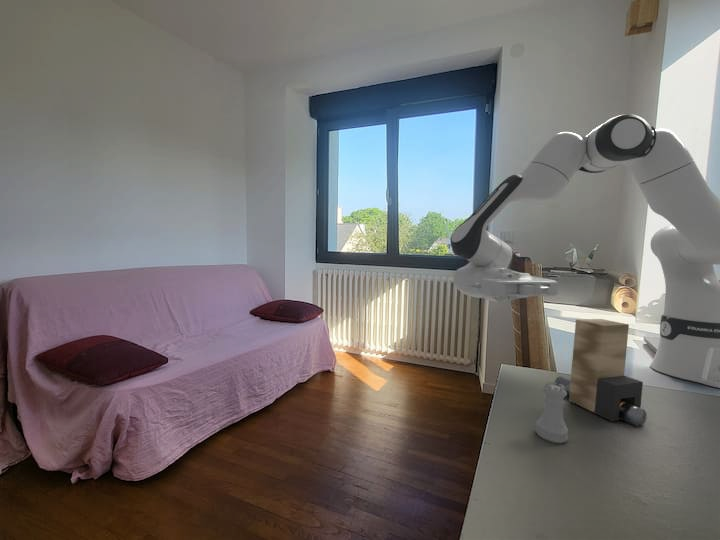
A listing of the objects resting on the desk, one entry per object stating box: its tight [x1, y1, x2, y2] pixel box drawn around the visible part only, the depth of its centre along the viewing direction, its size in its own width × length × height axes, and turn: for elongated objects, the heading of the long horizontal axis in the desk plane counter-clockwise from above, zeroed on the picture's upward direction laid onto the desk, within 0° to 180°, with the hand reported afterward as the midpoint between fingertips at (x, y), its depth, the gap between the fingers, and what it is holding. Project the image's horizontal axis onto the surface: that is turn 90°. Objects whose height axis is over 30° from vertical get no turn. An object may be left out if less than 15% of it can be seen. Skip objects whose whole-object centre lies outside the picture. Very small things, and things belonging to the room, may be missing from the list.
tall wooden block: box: [568, 318, 630, 414], centre depth 62 cm, size 5×7×16 cm
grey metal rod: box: [554, 375, 647, 428], centre depth 63 cm, size 15×3×3 cm, turn 20°
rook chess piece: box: [535, 381, 569, 444], centre depth 51 cm, size 4×4×8 cm
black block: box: [594, 375, 644, 422], centre depth 59 cm, size 3×7×6 cm, turn 109°
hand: (545, 291), depth 74 cm, fingers closed
